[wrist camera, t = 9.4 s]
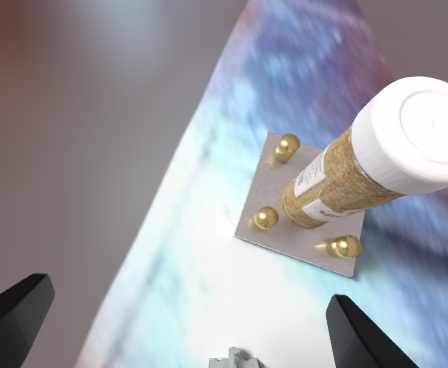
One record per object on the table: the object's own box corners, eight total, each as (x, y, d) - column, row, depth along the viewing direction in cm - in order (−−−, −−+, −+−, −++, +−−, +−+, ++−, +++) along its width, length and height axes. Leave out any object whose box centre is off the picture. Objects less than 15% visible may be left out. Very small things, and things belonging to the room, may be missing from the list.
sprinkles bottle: (304, 239, 22) (441, 208, 9) (270, 194, 23) (350, 107, 10) (344, 208, 23) (524, 139, 10) (310, 166, 23) (433, 52, 11)
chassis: (346, 276, 22) (370, 279, 19) (233, 236, 22) (237, 231, 19) (367, 170, 25) (391, 156, 21) (266, 136, 25) (275, 117, 22)
